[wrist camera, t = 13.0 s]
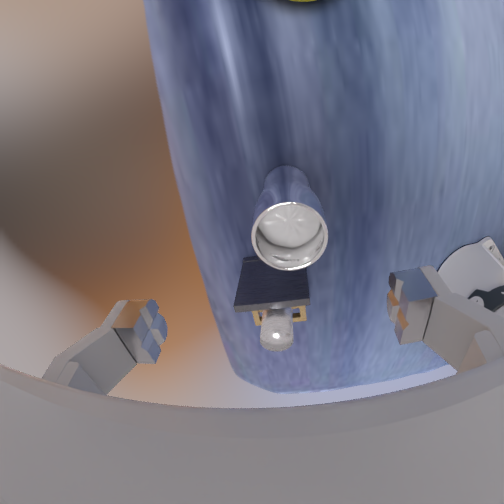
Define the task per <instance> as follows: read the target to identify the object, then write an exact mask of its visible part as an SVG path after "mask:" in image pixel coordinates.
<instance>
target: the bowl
mask: <svg viewBox="0 0 504 504" xmlns="http://www.w3.org/2000/svg"><path fill="white" fill-rule="evenodd" d="M290 1H299V2H309V1H315V0H290Z"/></svg>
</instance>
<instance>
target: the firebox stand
mask: <svg viewBox="0 0 504 504" xmlns="http://www.w3.org/2000/svg"><path fill="white" fill-rule="evenodd" d="M305 305H310V299H309V290H308V281H307V273H306V267H305V268H303V269H299V270H292V271H287V270H280V269H276V268H274V267H271V266H269V265H268V264H266V263H265V262H264V261H262V260H261V259H260V257H259V256H255V257H248V258H244V260H243V265H242V270H241V274H240V279H239V283H238V288H237V292H236V297H235V302H234V310H235V312H247V311H252V313H253V317H254V321H255V324H256V325H262V317H261V316H260V312H263V310H268V309H278V308H288V307H292V309H295V308H300V313H293V314H292V318H293V322H298V321H307V319H306V309H305Z"/></svg>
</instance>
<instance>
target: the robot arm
mask: <svg viewBox="0 0 504 504" xmlns="http://www.w3.org/2000/svg"><path fill="white" fill-rule="evenodd" d="M389 285H390V287H391V290H390V291H389V293H388V294H387V310H388V314H389V318H390V320H391V321H392V322H393V323H395V330H394V331H395V333H396V336H397V339H398V341H399V344H400V345H402V344H408V343H413V342H418V341H422V340H423V342H424V343H425V344H426V345H427V346H429V347H430V348H431V349H432V350H433V351H435V352H436V353H437V354H438V355H439V356H440V357H442V358H443V359H444V360H445V361H446V362H447V363H449V364H450V365H451V366H452V367H453V368H454V369H456V370H457V373H456V375H453V376H450V377H447V378H444V379H440V380H437V381H434V382H431V383H427V384H423V385H419V386H416V387H412V388H408V389H404V390H399V391H396V392H391V393H386V394H381V395H376V396H372V397H366V398H360V399H354V400H347V401H341V402H333V403H325V404H316V405H308V406H307V405H306V406H295V407H280V408H249V409H248V408H247V409H246V408H240V409H239V408H205V407H189V406H177V405H167V404H158V403H149V402H142V401H135V400H129V399H123V398H117V397H112V396H107V394H108V393H109V392H110V391H111V390H112V389H113V388H114V387H115V386H116V385H117V384H118V383H119V382H120V381H121V379H122V378H124V377H125V376H126V375H127V374H128V373H129V372H130V371H131V370H132V368H134V367H135V366H136V365H137V364H136V363H145V364H146V363H147V364H155V363H156V361H157V359H158V356H159V354H160V352H161V349H160V345H161V344H162V343H163V342H165V340H166V337H167V325H166V321H165V319H164V317H163V316H161V315H160V314H159V313H158V309H159V307H158V305H157V303H156V302H155V301H154V300H152V299H144V300H122V301H118V302H117V303H116V304H115V306H114V308H113V309H112V311H111V312H110V313H109V315H108V317H107V318H106V319H105V321H104V323H103V324H102V325H101V327H100V328H96V329H95V330H93V331H92V332H90V333H89V334H88V335H86V336H85V337H83V338H82V339H80V340H79V341H78V342H76V343H75V344H73V345H72V346H70V347H69V348H67V349H66V350H65V351H64V352H62V353H60V354H59V355H58V356H56V357H55V358H54V359H53V361H52V363H51V364H50V366H49V367H48V369H47V370H46V372H45V374H44V375H43V377H42V379H41V378H37V377H35V376H31V375H29V374H26V373H23V372H20V371H17V370H15V369H12V368H9V367H7V366H4V365H2V364H0V504H504V259H503V257H502V255H501V253H500V252H499V250H498V248H497V247H496V245H495V243H494V242H493V240H492V239H491V238H490V237H485V238H484V239H482V240H481V241H479V242H478V243H475V244H470V245H466V246H464V247H462V248H460V249H458V250H457V251H455V252H454V253H453V254H452V255H450V256H449V257H448V258H447V260H446V261H445V262H444V263H443V264H442V266H441V267H440V269H439V271H438V272H437V271H436V270H435V269H434V267H433V266H431V265H428V266H423V267H418V268H415V269H410V270H404V271H398V272H392V273H390V276H389Z"/></svg>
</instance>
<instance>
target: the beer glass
mask: <svg viewBox="0 0 504 504" xmlns="http://www.w3.org/2000/svg"><path fill="white" fill-rule="evenodd" d="M251 238H252V244H253V247H254V250H255V252H256V253H257V255H258V256H259V257H260V259H261V260H262V261H264V262H265V263H266V264H268V265H269V266H271V267H274V268H276V269H280V270H287V271H292V270H299V269H303V268H305V267H308V266H310V265H311V264H313V263H314V262H316V261H317V260H318V259H319V258H320V257H321V255H322V254H323V252H324V251H325V248H326V246H327V242H328V229H327V226H326V219H325V214H324V211H323V208H322V205H321V203H320V201H319V199H318V197H317V196H316V194H315V193H314V192H313V191H312V190H311V189H310V188H309V182H308V179H307V177H306V175H305V174H304V173H303V172H302V171H301V170H300V169H298V168H296V167H293V166H288V165H284V166H279V167H276V168H274V169H273V170H272V171H270V172H269V173H268V175H267V176H266V178H265V181H264V191H263V192H262V194H261V195H260V197H259V198H258V200H257V203H256V206H255V209H254V213H253V220H252V235H251Z"/></svg>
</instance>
